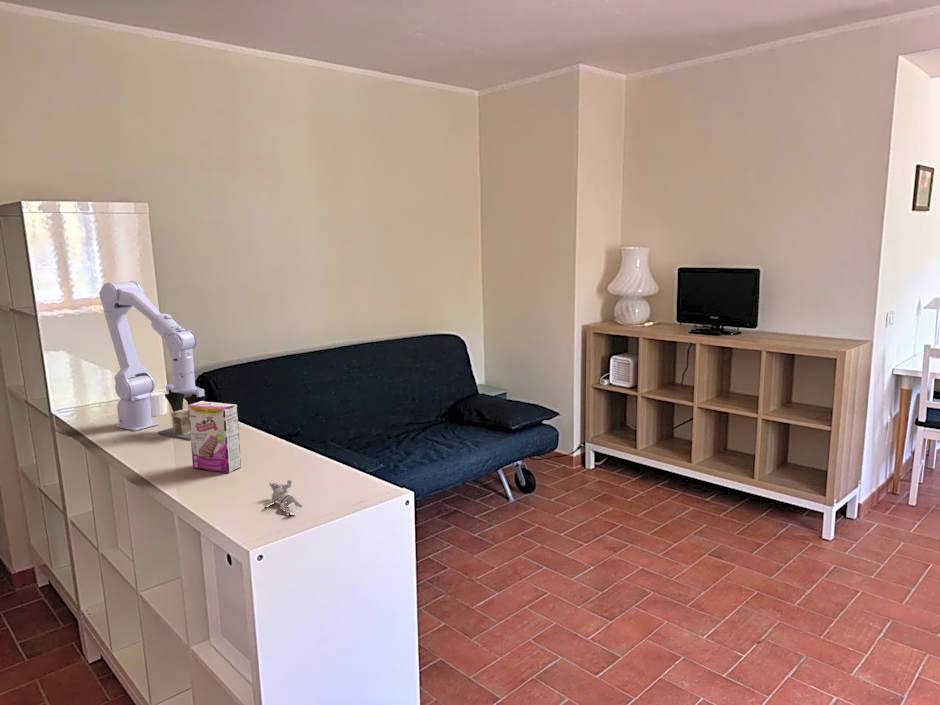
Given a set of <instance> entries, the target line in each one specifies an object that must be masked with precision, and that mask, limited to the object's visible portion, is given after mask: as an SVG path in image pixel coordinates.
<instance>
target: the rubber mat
mask: <svg viewBox="0 0 940 705" xmlns="http://www.w3.org/2000/svg"><path fill="white" fill-rule="evenodd" d="M157 433H158V434H157V435H163V436H168V437H172V438H177V439H182V440H186V441H191V434H190V432H189V433H186V434H182V432H181V431H179V432H174V431H173V427H170V428H166V429H163V430H159V431H157Z"/></svg>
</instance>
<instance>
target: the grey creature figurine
mask: <svg viewBox="0 0 940 705" xmlns="http://www.w3.org/2000/svg"><path fill="white" fill-rule="evenodd" d="M286 482H287V483H285V484H283V483H280V482H276V481H275V482H274V481H271V482H269V486H270V487H271V489H272V491H273V493H272V494H271V500H270V502H268V503H267V504H265V505H264V507H263V509H266V508H265V507H266V506H268V505H270V504H271V503H273V502H275V501H276V502H277V503H279V504H280V506H279V508H280V510H281V509H282V510H285V511H287V512H285V514H286V515H287V514H290V513H291V512H293V511H292V510H290V509H289V507H288V508H287V506H288V505H289V504H290V505H291V504H292V503H294V505H295V507H298V508H303V505H302V503H301V502H300V501H299V500H298V499H297V498H296V497H295V496H294V495H290V494H289V493H288V489H290V488H291V487H292V480H291V479H287V481H286ZM276 502H275V503H276ZM285 502H287V503H285ZM290 505H289V506H290ZM282 510H281V511H282Z"/></svg>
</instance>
